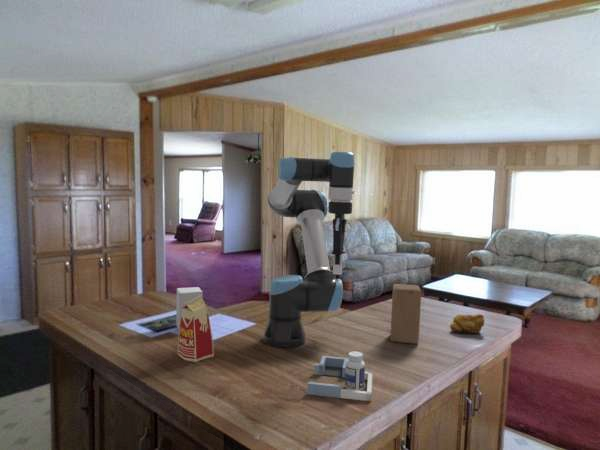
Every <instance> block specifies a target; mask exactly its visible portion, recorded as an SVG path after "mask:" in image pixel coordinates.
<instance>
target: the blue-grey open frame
mask: <svg viewBox="0 0 600 450" xmlns="http://www.w3.org/2000/svg"><path fill="white" fill-rule="evenodd" d="M347 360H349V358H348V357H339V356H338V357H337V356H331V355H330V356H328V355H322V356H321V359H320V362H319V363H314V375H315V376H316V375H317V376H323V372H324V369H325V366H331V367H341V368H343V371H342V377H341V378H343V379H345V368H346V361H347ZM306 389H307V395H310V396H318V397H319V396H320V397H329V398H330V397H331V398H338V399H342V398H341V389H342V385H341V384H333V383H324V382H315V381H308V382H307V388H306Z"/></svg>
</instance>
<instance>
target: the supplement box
mask: <svg viewBox="0 0 600 450" xmlns="http://www.w3.org/2000/svg"><path fill="white" fill-rule="evenodd" d="M203 293H204V292H203V290H201V288H200V287H199V286H195V287H194V286H193V287H177V288H176V302H175V303H176V310H175V311H176V313H175V314H176V318H175V319H176V321H175V326H176V328H177V330H178V331H179V328H180V321H181V315H182V310H183V308H184V307H185V306H186V305H185V303H186V302H189V301H191V300H193V299H195V298H196V297H198V296H199V295H201V294H202V299H203V296H204V295H203ZM203 300H204V299H203Z"/></svg>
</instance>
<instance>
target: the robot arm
mask: <svg viewBox="0 0 600 450" xmlns="http://www.w3.org/2000/svg"><path fill="white" fill-rule="evenodd" d="M355 164H356V163H355V154H354V153H353V152H350V151H332V152H331V154H330V158H327V159H326V158H306V157H305V158H304V157H292V156H290V157H281V158H280V159H279V160H278V167H277V174H278V178H279V179H278V181H277V182H276V184H275V186H274V187H272V188H271V190H269V193H268V195H267V204H268V206H269V208H270V210H272V212H274V213H275V214H276V215H278V216H281V217H283V218H294V219H295V218H296V222H297V224H298V225H299V226H301V233H302V241H303V247H304V255H305V262H306V268H307V274H306V275H304V278H303V276H301V275H299V274H286V275H281V276H277V277H275V278H273V279H272V280H271V281H270V283H269V291H268V293H269V294H268V295H269V300H268V302H269V306H268V307H269V308H268V322H267V323H266V327H265V330H264V333H263V343H265V344H267V345H269V346H272V347H275V348H276V347H277V348H294V347H298V346H301V345H303V344H304V343H306V333H305V328H304V326H303V325H304V324H303V322H302V313H309V312H312V313H314V312H318V313H319V312H333V311H334V312H335V311H337V310H338V309H340V307H341V305H342V301H343V295H344V286H343V285H344V284H343V280H341V278H336V275H340V276H342V274H343V257H344V256H343V255H344V254H346V251H344V246H345V245H344V243H345V232H346V224H347V218H345V215H352V212H353V202H352V200H353V195H355V191H354V190H353V189H354V173H355V172H354V171H355ZM302 182H327V183H329V184H328V185H329V187H328V200H329V202H328V200H327V197H326V195H325V193H324V192H323V191H322V190H316V189H308V190H307V189H298V188H299V187H300V186H301V184H302ZM328 213H329V214H332V215H333V214H334V215H335V216H334V219H332V232H333V233H332V236H333V237H332V240H333V241H332V244H333V245H332V251H331V253H330V254H331V255H333V260H332V261H333V264H332V265H333V267H332V270H331V266H330V262H329V256H328V249H327V245H326V244H327V243H326V238H325V233H324V228H323V222H324V220H325V218H326V217H327V215H328Z"/></svg>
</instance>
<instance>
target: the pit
mask: <svg viewBox="0 0 600 450" xmlns="http://www.w3.org/2000/svg"><path fill="white" fill-rule="evenodd" d="M342 371H343V368H341V367H331V366H325V369H324V372H323V375H322V376H324V377H332V378H333V377H335V378H343V377H342Z"/></svg>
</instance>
